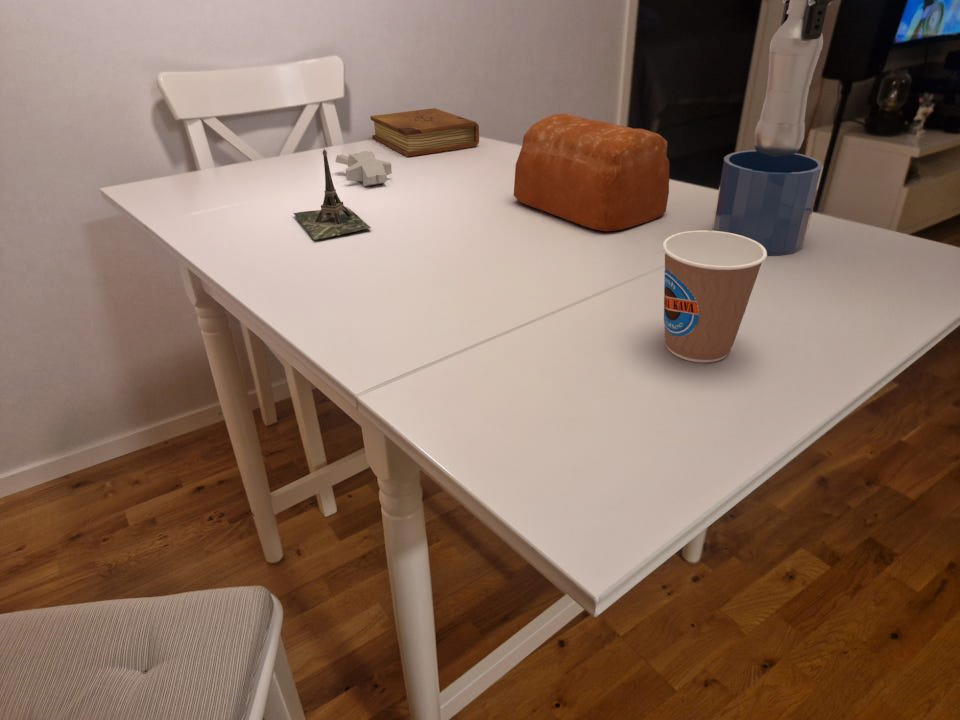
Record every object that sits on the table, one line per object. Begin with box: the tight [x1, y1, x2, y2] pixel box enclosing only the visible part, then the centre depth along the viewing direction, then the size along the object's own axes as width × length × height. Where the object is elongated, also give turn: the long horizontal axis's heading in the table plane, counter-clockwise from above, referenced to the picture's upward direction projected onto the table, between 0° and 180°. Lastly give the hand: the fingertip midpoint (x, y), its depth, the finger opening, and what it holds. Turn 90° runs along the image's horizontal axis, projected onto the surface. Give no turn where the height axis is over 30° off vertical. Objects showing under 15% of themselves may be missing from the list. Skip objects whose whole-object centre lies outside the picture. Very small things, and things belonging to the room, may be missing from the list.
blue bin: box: [711, 149, 824, 257], centre depth 99 cm, size 13×13×12 cm
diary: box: [370, 107, 480, 158], centre depth 161 cm, size 23×19×6 cm
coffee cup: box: [662, 229, 768, 364], centre depth 71 cm, size 10×10×12 cm
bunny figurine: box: [334, 150, 393, 187], centre depth 135 cm, size 10×5×15 cm
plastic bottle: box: [753, 0, 824, 156], centre depth 90 cm, size 6×7×20 cm
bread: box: [513, 113, 670, 232], centre depth 113 cm, size 17×24×15 cm
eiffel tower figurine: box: [293, 143, 372, 241], centre depth 110 cm, size 15×10×13 cm
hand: (798, 36), depth 87 cm, fingers closed on plastic bottle, 6 cm apart
